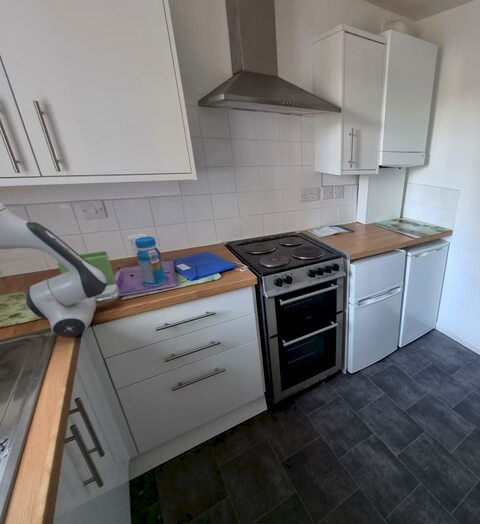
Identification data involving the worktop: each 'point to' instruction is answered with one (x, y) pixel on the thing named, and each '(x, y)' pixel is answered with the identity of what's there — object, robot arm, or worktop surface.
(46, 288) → the robot arm
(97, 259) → the green square panel
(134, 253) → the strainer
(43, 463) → the worktop surface
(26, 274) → the worktop surface
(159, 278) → the beverage bottle
